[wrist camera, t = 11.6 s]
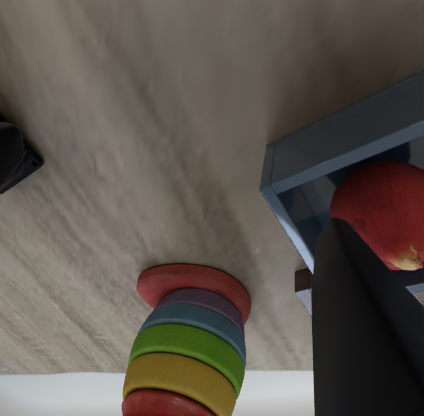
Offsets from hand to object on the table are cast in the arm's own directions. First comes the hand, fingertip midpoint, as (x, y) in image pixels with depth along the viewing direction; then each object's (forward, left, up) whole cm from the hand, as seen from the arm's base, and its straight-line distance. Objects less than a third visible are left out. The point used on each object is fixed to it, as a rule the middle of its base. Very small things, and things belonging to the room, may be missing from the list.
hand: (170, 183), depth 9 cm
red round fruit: (+4, -10, -13) cm, 17 cm away
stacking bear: (-14, -17, -13) cm, 25 cm away
